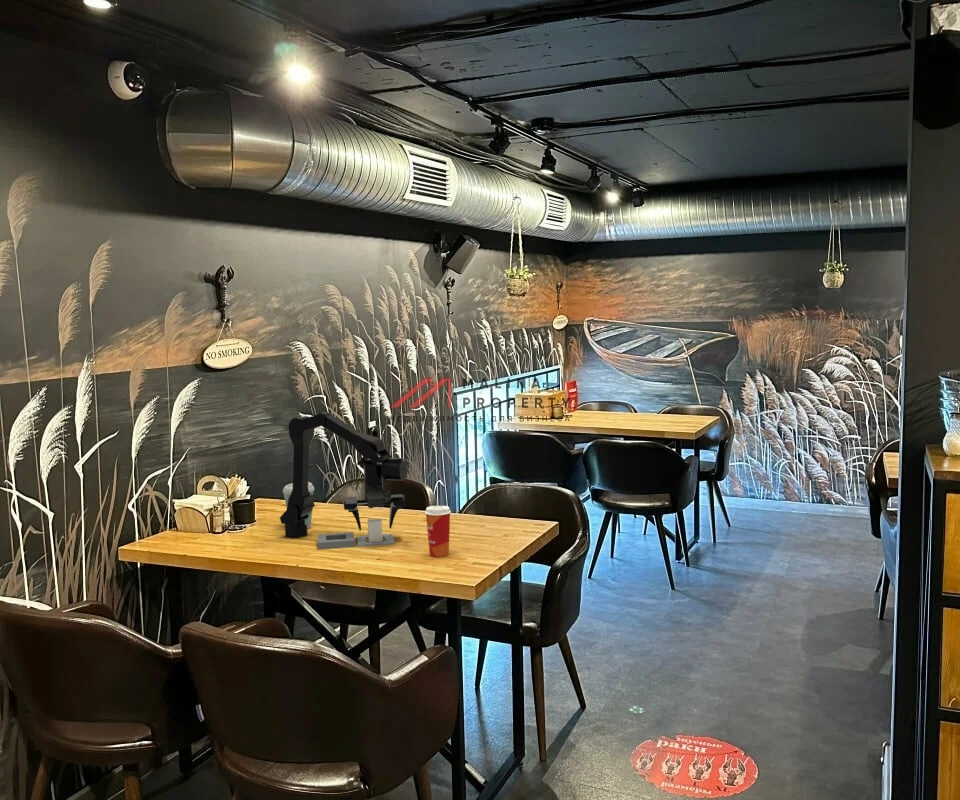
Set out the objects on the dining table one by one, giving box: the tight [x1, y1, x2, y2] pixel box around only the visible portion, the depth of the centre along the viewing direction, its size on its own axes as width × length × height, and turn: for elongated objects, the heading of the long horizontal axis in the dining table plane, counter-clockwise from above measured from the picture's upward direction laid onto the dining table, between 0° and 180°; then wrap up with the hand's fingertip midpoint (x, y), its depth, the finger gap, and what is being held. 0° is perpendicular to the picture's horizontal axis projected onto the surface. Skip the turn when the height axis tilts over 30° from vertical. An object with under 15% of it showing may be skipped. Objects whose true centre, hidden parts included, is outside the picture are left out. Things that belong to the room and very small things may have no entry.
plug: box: [367, 518, 383, 542], centre depth 260 cm, size 4×4×8 cm
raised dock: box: [317, 531, 356, 551], centre depth 258 cm, size 11×11×4 cm
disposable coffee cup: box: [282, 481, 315, 529], centre depth 286 cm, size 11×11×15 cm
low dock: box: [356, 533, 396, 548], centre depth 260 cm, size 11×11×2 cm
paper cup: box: [424, 505, 452, 558], centre depth 247 cm, size 8×8×14 cm
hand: (375, 529), depth 259 cm, fingers open, 9 cm apart
